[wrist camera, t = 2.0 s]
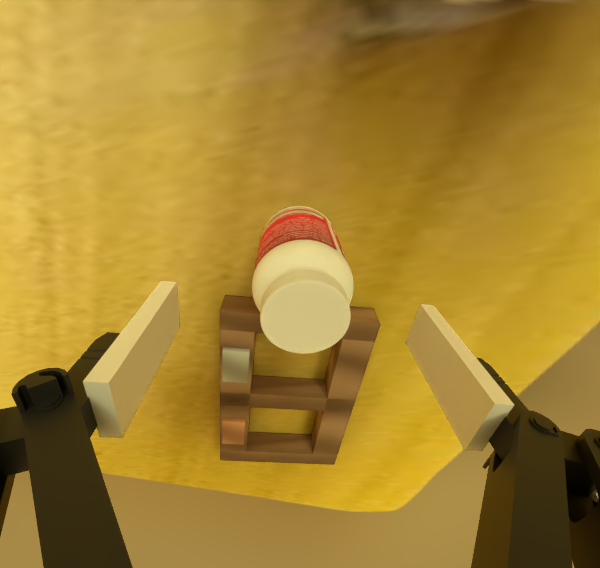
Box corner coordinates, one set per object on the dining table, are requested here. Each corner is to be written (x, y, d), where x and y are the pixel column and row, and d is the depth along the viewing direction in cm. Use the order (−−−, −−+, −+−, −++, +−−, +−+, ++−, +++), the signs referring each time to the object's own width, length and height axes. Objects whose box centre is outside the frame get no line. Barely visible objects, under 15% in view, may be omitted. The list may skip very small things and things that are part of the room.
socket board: (225, 295, 27) (218, 313, 24) (373, 308, 28) (381, 327, 26) (224, 440, 38) (219, 463, 35) (331, 445, 39) (334, 467, 36)
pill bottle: (246, 238, 24) (218, 318, 15) (301, 186, 22) (311, 240, 13) (296, 285, 27) (300, 381, 17) (350, 243, 25) (389, 323, 15)
